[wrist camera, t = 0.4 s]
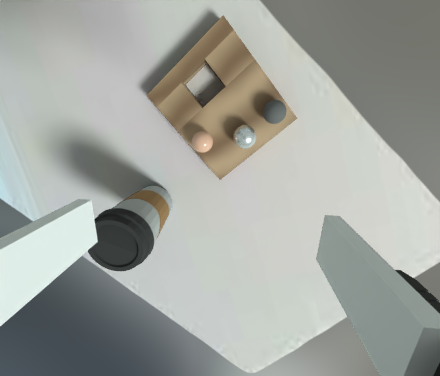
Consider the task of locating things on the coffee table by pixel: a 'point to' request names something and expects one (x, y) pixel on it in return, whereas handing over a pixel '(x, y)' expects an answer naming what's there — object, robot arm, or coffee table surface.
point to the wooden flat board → (220, 98)
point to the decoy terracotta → (202, 141)
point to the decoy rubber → (274, 111)
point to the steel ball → (245, 136)
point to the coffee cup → (130, 229)
